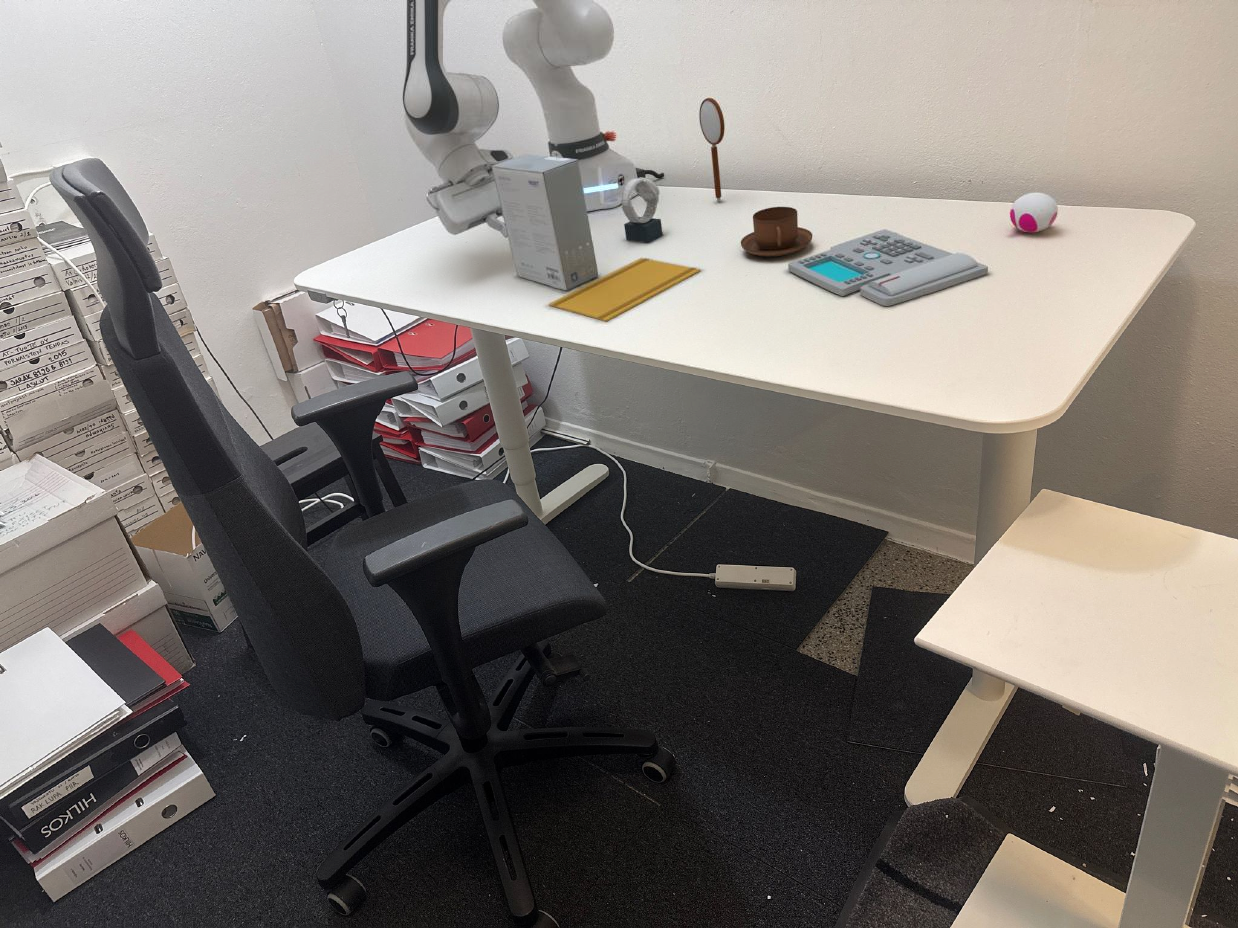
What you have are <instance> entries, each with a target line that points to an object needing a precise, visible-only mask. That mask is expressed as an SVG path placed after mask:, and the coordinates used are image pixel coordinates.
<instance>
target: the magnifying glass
mask: <svg viewBox="0 0 1238 928" xmlns="http://www.w3.org/2000/svg"><path fill="white" fill-rule="evenodd" d="M698 115H699V116H698V117H699V125H700V129H701V132H702V135H703V137H704V139H705V140H706V141H707V143H709V144H710V145H711V147H710V152H711V162H712V163H711V164H712V174H713V184H714V195H715V199H716V202H717V203H720V202H721V198H722V189H721V188H722V187H721V177H720V165H719V153H718V146H717V145H719V144H720V143H721V142H722V141H723V139H724V136H725V118H724V114H723V111H722V108H721V106H720V104H719V103H718V102H717V100H715V99H714V98H712V97H706V98H705V99H704V100H702V102H701V103H700V107H699V114H698Z"/></svg>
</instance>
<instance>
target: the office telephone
mask: <svg viewBox="0 0 1238 928" xmlns="http://www.w3.org/2000/svg"><path fill="white" fill-rule="evenodd" d="M787 266H788V267H787V269H788V270H787V271H788V272H791V273H793V274H795V275H796V276H798V277H800V278H803V279H804V280H806V281H808V282H810V283H813V284H815V285H816V286H819V287H821V288H822V289H825V290H827V291H830V292H831V293H834V294H836V295H838V296H841V297H843V296H847V295H849V294H851V293H855V292H858V291H859V292H860V296H861V297H864V298H866V299H867V300H870V301H872V302H874V303H876V304H879V305H880V306H883V307H890V306H894V305H897V304H901V303H903V302H906V301H910V300H913V299H916V298H919V297H923V296H925V295H930V294H932V293H934V292H935V293H936V292H938V291H941V290H944V289H946V288H951V287H953V286H955V285H959V284H962V283H965V282H968V281H971V280H974V279H976V278H980V277H983V276H986V275H988V271H989V266H988V265H985V264H984V263H980V262H978V261H977V260H976V259H975V258H974V257H972V256H970V254H966V253H963V252H955V253H952V252H949V251H946V250H944V249H941V248H938V247H935V246H933V245H929V244H927V243H925V242H921V241H918V240H916V239H912V238H910V237H907V236H904V235H902V234H899V233H897V232H894V231H892V230H889V229H886V228H885V229H881V230H880V229H879V230H877V231H874V232H872V233H869V234H866V235H865V234H864V235H863V236H859V237H856V238H853V239H850V240H847V241H844V242H841V243H838V244H835V245H833V246H831V247H830V249H828V250H827V249H826V250H825V251H822V252H819V253H816V254H813V255H810V256H807V257H804V258H801V259H798V260H794V261H789V262H788V263H787Z"/></svg>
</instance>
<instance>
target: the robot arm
mask: <svg viewBox="0 0 1238 928" xmlns="http://www.w3.org/2000/svg"><path fill="white" fill-rule="evenodd" d="M451 1H452V0H406V66H405V67H406V68H405V76H404V83H403V89H402V105H403V109H404V111H405V112H404V123H405V127H406V129H407V132H408V134H409V136H410V137H411V139H412V141H413V143H414V145H415V146H416V147H417V148H418V150H419V152H420V153H421V155H423V157H424V159H426V161H428V162H429V164H432V166H433V167H434V169H435V170H436V173H437V175H438V177H439V178H440V179H441V180H442V182H443V183H441V184H439V185H438V186H432V187H431V188H429V189H428V192H427V193H426V195H425V197H426V201H427V203H428V204H429V205H430V207H431V209H433V210H434V211H435V213H436V215H437V217H438V219H439V221H440V222H441V224H442V226H443V227H444V229H445V230H446V231H447V233H449V234H451V235H454V236H457V235H460V234H462V233H464V232H467V231H469V230H471V229H473V228H476V227H479V226H481V225H483V224H487V225H488V227H489V228H491V229H493V230H496V231H497V232H500V234H501V236H502V237H504V238H506V239H507V238H508V234H507V230H506V226H505V222H504V221H502V220H499V218H500V217H502V218H503V213H502V209H501V205H500V201H499V197H498V192H497V188H496V184H495V180H494V176H493V171H492V166H493V165H496V164H499V163H502V162H505V161H507V160H510V159H513V158H514V157H513V153H511V152H510V151H509V150H508V149H485V148H479V147H478V146H477V144H476V142H477V141H479V140H480V139H481V138H482V137H483V136H484V135H485V134H487V132H488V131H489V130H490V129H491V128H492V126H493V125H494V124H495V123H496V121H497V118H498V116H499V109H500V102H499V96H498V93H497V91H496V88H495V87H494V84H493V83H492V82H491V81H490V80H489V79H488V78H486V77H485V76H483V75H477V74H471V73H464V72H462V73H461V72H458V73H457V72H451V71H450V72H448V71H447V69H446V68H445V65H444V15H445V11H446V9H447V6H448V5H449V3H450V2H451ZM532 2H533V3H534V4H535V6H536V7H535V8H534V7H533V8H528V9H525V10H523V11H520V12H518V13H516V14H514V15H512V16H510V17H509V18H508V19H507V20H506V22H505V23H504V26H503V31H502V45H503V49H504V52H505V54H506V56H507V57H508V59H509V60H510V62H512V63H513V65H515V66H516V67H518V68H519V69H520V70H521V71H522V72H523V73H524V75H525V76H526V79H528V81H529V83H530V84H531V85H532V87H533V89H534V91H535V93H536V96H537V98H538V101H539V103H540V105H541V109H542V114H543V117H544V122H545V126H546V131H547V136H548V142H547V147H548V152H549V157H558V158H569V159H577V160H578V165H579V170H580V176H581V182H582V187H583V193H584V198H585V204H586V209H587V212H592V211H596V210H597V211H598V210H604V209H606V210H607V209H612V208H617V207H618V206H619V205H622V202H621V197H622V191H623V188H624V186H625V185H626V183H627V182H628V181H629V180H631V179H638V178H646V175H651V176H653V177H654V178H655V179H662V178H664V177H665V173H664V172H661V173H657V172H656V171H655V170H652V169H643V168H640V167H636V166H635V164H634V163H633V161H632V160H631V159H629V158H627V157H626V156H624V155H622V154H620V153H619V152H617V151H615V150H614V149H612V148H610V145H609V143H608V142H615V141H616V139H617V133H616V132H615V131H612V130H611V131H610V130H608V131H605V132H603V131H601V129H600V128H601V127H600V122H599V116H598V110H597V104H596V99H595V98H596V97H595V96H594V94H593V92H592V90H590V89H589V88H588V86H586V85H585V84H583V83H582V82H580V80H579V79H578V77H577V76H576V75H575V73H574V71H573V69H572V67H578V66H587V65H590V64H593V63H596V62H598V61H601V60H604V59H605V58H606V57H608V55H609V54H610V52H611V50H612V48H613V45H614V41H615V40H614V39H615V29H614V24H613V21H612V18H611V16H610V14H609V13H608V11H607V10H606V9H605V8H604V7H603V6H602V5H600V4H598V3H597V2H595V1H594V0H532ZM646 179H647V178H646ZM636 196H638V194H637V192H636V191H634V189H633V191H632V194H631V199H632V198H634V197H636Z"/></svg>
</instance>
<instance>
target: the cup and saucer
mask: <svg viewBox="0 0 1238 928" xmlns="http://www.w3.org/2000/svg"><path fill="white" fill-rule="evenodd" d="M752 224H753V232H750V233H747V234H746V235H745V236H743V238H742V239H741V240H740V247H741V248H742V249H743V250H744V251H745V252H747V253H748V254H751V255H754V256H759V257H780V256H785V255H790V254H793V253H797V252H799V251H801V250H803V249H804V248H807V246H808V245H809V244H810V243H811V242H812V241H813V233H812V232H811V230H809V229H807V228H804V227H799V223H798V210H797V209H796V208H793V207H790V206H772V207H767V208H763V209H760V210H758V211H756V212H755V213H753V215H752Z"/></svg>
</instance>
